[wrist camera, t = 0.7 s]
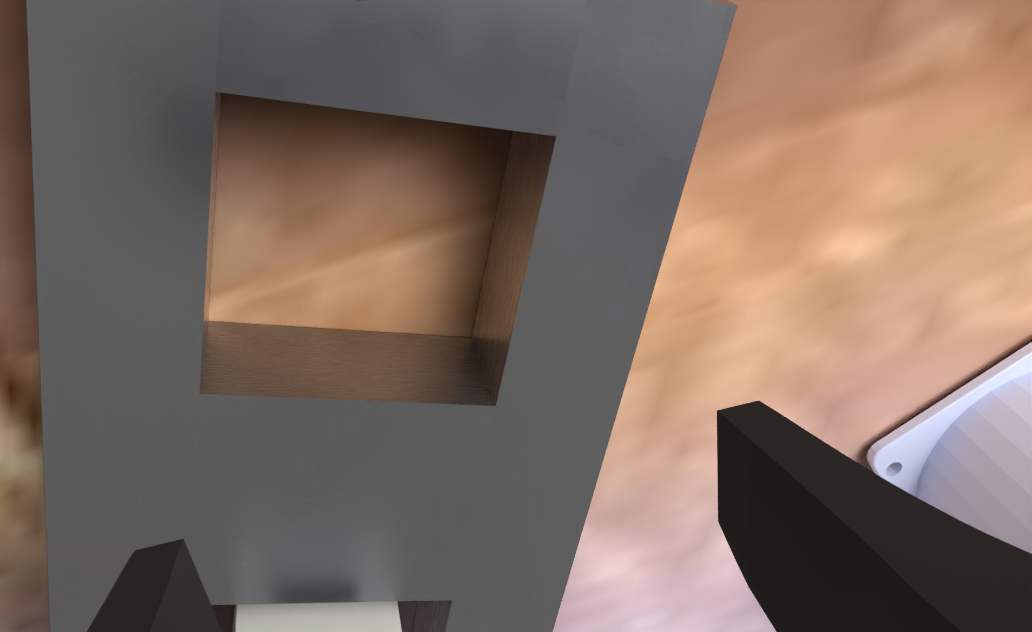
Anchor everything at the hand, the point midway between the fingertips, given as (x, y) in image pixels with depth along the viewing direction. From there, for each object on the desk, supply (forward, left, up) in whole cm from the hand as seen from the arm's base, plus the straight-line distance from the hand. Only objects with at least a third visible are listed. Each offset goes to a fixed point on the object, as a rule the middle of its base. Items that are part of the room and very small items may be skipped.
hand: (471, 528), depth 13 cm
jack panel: (-4, +5, -10) cm, 12 cm away
